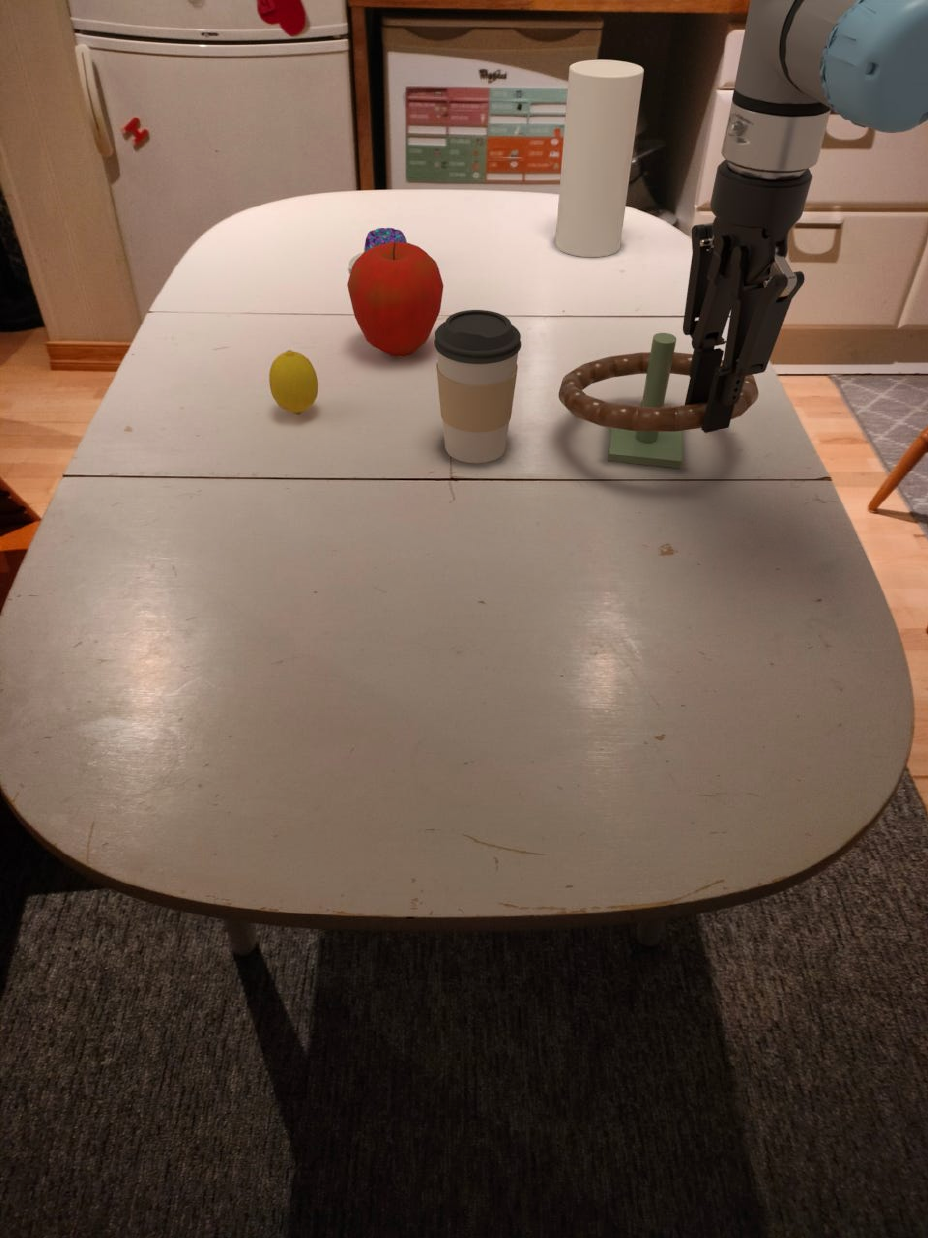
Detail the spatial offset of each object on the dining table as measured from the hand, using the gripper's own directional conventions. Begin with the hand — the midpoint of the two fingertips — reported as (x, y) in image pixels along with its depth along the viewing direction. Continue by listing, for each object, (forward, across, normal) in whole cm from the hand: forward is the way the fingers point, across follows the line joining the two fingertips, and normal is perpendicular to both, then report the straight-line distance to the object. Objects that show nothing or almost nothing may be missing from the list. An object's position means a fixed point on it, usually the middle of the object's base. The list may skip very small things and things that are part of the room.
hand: (705, 419), depth 85 cm
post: (+9, -9, 0) cm, 12 cm away
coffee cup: (+9, -16, -18) cm, 26 cm away
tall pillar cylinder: (+9, -65, +22) cm, 69 cm away
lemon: (+9, -30, -35) cm, 47 cm away
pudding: (+9, -67, -12) cm, 69 cm away
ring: (+1, -9, 0) cm, 9 cm away
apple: (+9, -41, -19) cm, 46 cm away
